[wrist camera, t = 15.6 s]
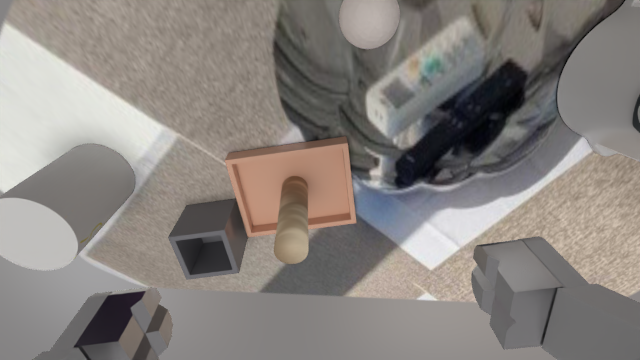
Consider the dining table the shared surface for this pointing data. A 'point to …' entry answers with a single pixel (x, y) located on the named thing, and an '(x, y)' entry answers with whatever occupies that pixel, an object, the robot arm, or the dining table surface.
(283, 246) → the dowel
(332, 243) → the dining table surface
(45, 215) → the grey patterned cylinder
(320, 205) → the tray
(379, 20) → the egg
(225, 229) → the holder
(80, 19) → the dining table surface
